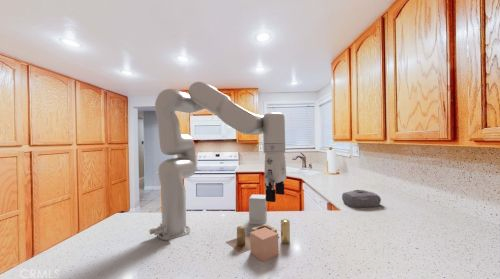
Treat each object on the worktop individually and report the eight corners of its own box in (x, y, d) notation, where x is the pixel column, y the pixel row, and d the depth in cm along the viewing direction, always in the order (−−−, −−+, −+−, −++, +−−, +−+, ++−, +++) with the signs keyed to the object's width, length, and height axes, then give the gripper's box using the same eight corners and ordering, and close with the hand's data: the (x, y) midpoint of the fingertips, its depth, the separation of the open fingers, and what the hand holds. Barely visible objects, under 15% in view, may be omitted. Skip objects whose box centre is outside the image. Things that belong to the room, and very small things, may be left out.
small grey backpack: (353, 209, 115) (387, 208, 116) (353, 194, 115) (387, 192, 116) (339, 201, 130) (369, 200, 131) (338, 188, 130) (369, 186, 131)
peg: (285, 248, 75) (285, 223, 75) (279, 245, 78) (278, 220, 78) (291, 245, 77) (291, 221, 77) (285, 242, 80) (285, 218, 80)
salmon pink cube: (263, 265, 66) (262, 239, 65) (250, 256, 71) (250, 232, 71) (278, 258, 69) (278, 233, 69) (265, 249, 75) (264, 227, 75)
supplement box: (265, 227, 94) (264, 198, 94) (248, 226, 95) (248, 198, 95) (267, 220, 101) (266, 194, 101) (251, 220, 102) (251, 193, 102)
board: (241, 256, 70) (240, 235, 70) (225, 245, 78) (225, 225, 78) (279, 240, 81) (279, 221, 81) (262, 231, 89) (262, 214, 89)
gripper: (276, 150, 64) (278, 206, 64) (291, 147, 80) (292, 192, 80) (254, 150, 68) (255, 203, 68) (272, 147, 83) (273, 191, 83)
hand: (275, 197), depth 74 cm, fingers open, 9 cm apart
